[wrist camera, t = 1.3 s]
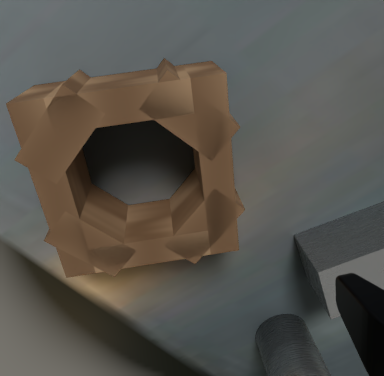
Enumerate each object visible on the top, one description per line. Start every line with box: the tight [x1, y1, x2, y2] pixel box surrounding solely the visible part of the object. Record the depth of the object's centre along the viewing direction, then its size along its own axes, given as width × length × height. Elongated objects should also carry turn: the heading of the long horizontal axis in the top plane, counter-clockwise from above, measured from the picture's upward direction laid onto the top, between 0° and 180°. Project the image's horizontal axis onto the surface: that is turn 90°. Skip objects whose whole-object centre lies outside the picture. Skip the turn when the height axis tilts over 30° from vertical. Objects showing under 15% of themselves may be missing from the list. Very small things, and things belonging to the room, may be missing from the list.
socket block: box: [6, 58, 245, 278], centre depth 19 cm, size 10×10×4 cm
